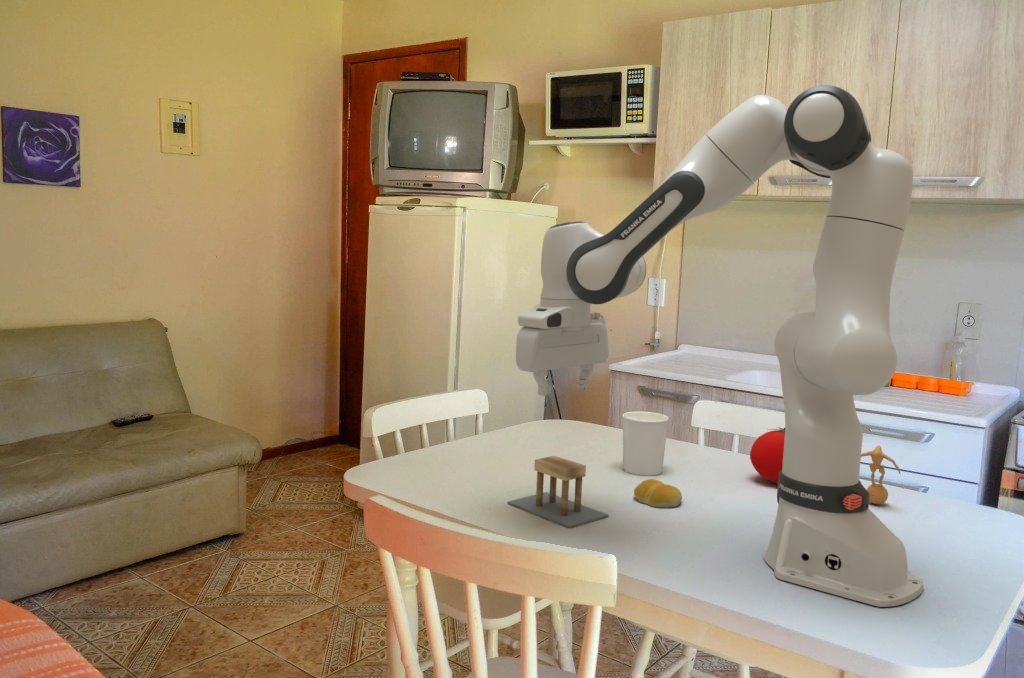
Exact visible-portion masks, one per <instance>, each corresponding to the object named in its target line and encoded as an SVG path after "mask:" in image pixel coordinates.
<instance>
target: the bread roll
mask: <svg viewBox="0 0 1024 678" xmlns="http://www.w3.org/2000/svg"><path fill="white" fill-rule="evenodd" d="M633 494H634V495H633V496H634V497H635V500H637V501H638V502H640V503H642V504H647V506H648V505H649V506H651V507H652V508H653V507H654V508H661V509H665V508H675V507H678V506H679V505H680V504H681V503H682V499H683V495H682V493H681V490H680V489H679V488H678V487H676V486H674V485H669V484H665V483H663V482H662V481H660V480H658V479H655V478H649V479H644V480H643V481H642V482H640V483H638V484H637V485H636V486H635V488H634V489H633Z"/></svg>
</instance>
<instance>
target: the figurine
mask: <svg viewBox="0 0 1024 678" xmlns="http://www.w3.org/2000/svg"><path fill="white" fill-rule="evenodd" d="M867 456H870V458H871V461H872V462H871V463H869V469H870V472H871V474H870V478H871V484H870V485H869V486H868V487H867V488H866V490H867V491H870V490H872V489H874V490H875V491H874V493H873V494H872V495H874V497H871V498H869V503H871V504H873V505H876V506H877V505H883V504H884V503H885V502H887V500H888V498H889V493H888V492H889V491H888V489H887V488H886V487H885V486H884V485H883V482H882V481H883V480H884V476H885V474H886V471H885V468H886V467H885V465H884V464H882V462H883V460H884V459H885V460H887V461H889V462H891V463H892V465H893V466H894V468H895V469H896V470H897V471H898V474H901V470H900V468H899V466H898V464H897V463H896V461H895V460H894V459H893V458H891V457H890V456H888V455H887V454H885V453H884V452H883V451H882V446H881V445H877V446H876V447H875V448H874V449H873V450H870V451H866V452H863V453H861V458H862V457H867ZM877 470H878V473H880V474H881V475H880V476H879V479H878V483H876V482H875V478H876V477H875V473H876V472H877Z"/></svg>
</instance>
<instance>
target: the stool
mask: <svg viewBox="0 0 1024 678" xmlns="http://www.w3.org/2000/svg"><path fill="white" fill-rule="evenodd" d="M586 470H587V465H586V464H582V463H579V462H576V461H573V460H570V459H566V458H563V457H560V456H558V455H557V456H556V455H552V456H551V455H550V456H546V457H542V458H537V459H534V471H535V472H536V473H537V475H536V491H535V492H536V494H535V495H536V506H542V504H543V493H544V478H545V477H544V476H545V475H547V476H549V493H550V495H549V502H550V503H555V502H556V496H557V481H558V479H559V480H561V496H560V497H561V515H562V516H567V513H568V500H569V488H570V481H571V480H575V482H574V483H575V484H574V486H575V487H574V501H573V502H574V512H581V505H582V494H583V493H582V491H583V478H584V477H586V472H587V471H586Z"/></svg>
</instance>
